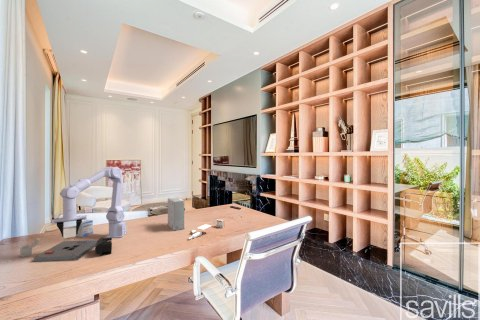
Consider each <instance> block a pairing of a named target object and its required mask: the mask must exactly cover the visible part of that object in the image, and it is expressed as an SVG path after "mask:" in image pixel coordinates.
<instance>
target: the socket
mask: <svg viewBox="0 0 480 320" xmlns="http://www.w3.org/2000/svg"><path fill="white" fill-rule="evenodd" d="M97 241H98V239H91V240H88V239H87V240H86V239H85V240H62V241H61V242H59V243H57V244H55V245H54V246H53V247H50V248H49V249H47V250H45V251H43V252H41V253H39V254H38V255H36V256H34V257H33V262H54V261H55V262H57V261H59V262H60V261H63V262H64V261H79V260H80V259H81V258H83V257H84V256H85V255H87V254H88V253H89V252H91V251H92V250H93V249H95V247H96V243H97Z"/></svg>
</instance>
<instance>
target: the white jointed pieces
mask: <svg viewBox="0 0 480 320" xmlns="http://www.w3.org/2000/svg"><path fill="white" fill-rule="evenodd" d="M212 224H213V225H215V226H216V228H220V229H224V228H225V220H224V219H221V218H220V219H219V218H216V219H215V221H212ZM210 227H212V225H210V224H208V223H205V224H203V225H200V226H198V227H197V229H198V230H199V231H196V230H195V229H192V230H190V232H189V234H190V235H191V236H190V237H188V238H187V239H188V240H191V239H196V238H199V237H200V236H202V234H203V232H202V231H204V230H206V229H209V228H210ZM200 230H202V231H200Z"/></svg>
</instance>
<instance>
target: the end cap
mask: <svg viewBox="0 0 480 320" xmlns="http://www.w3.org/2000/svg"><path fill="white" fill-rule="evenodd" d="M97 240H98V241H97V243H96V247H95V248H94V252H95V253H96V255H98V256H100V257H104V256H108V255H109V256H110V255H111V254H112V250H113V242H112V241H113V238H112V237H110V238H106V237H105V238H104V236H101V237H100V238H98V239H97Z"/></svg>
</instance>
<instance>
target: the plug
mask: <svg viewBox="0 0 480 320" xmlns="http://www.w3.org/2000/svg"><path fill="white" fill-rule="evenodd" d="M75 237H77V234H76V225H72V226H65V227H64V229H63V237H62V238H63V239H64V240H67V238H72V240H75Z"/></svg>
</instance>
